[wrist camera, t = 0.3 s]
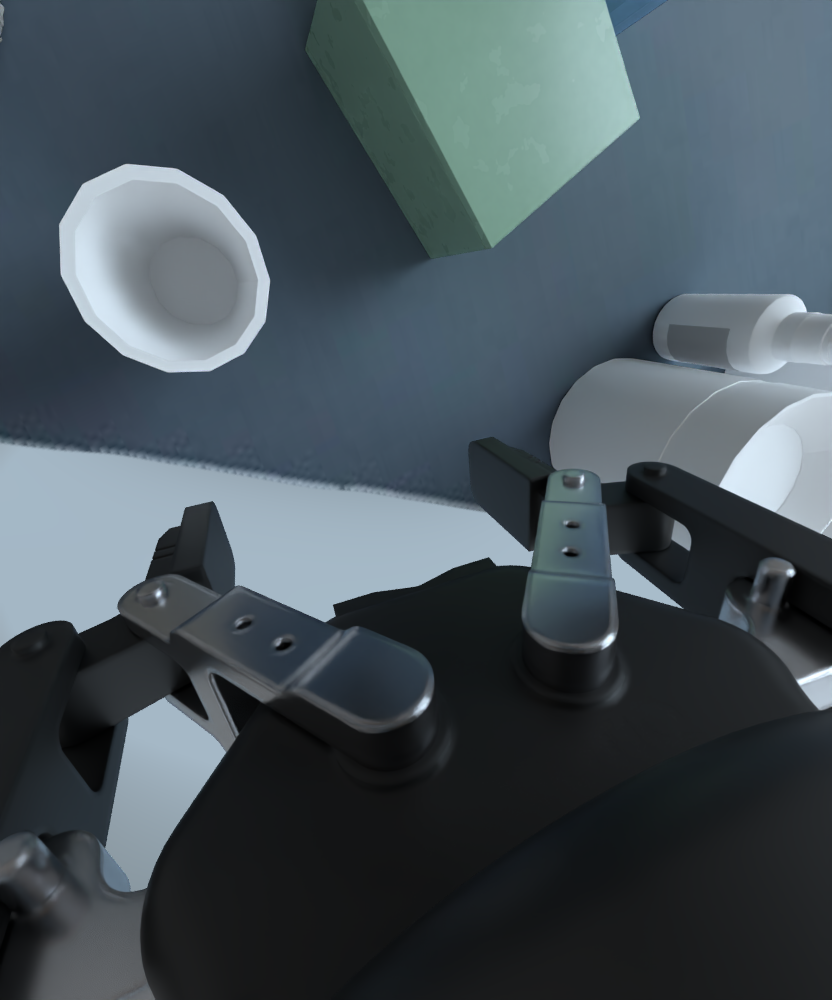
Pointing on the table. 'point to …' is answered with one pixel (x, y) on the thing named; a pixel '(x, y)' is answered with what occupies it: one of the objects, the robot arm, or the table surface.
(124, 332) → the foam cup
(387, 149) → the green box
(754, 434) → the canister
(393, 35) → the lid
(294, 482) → the table surface
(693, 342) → the spray bottle
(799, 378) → the milk
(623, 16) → the cup
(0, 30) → the ceramic cottage
